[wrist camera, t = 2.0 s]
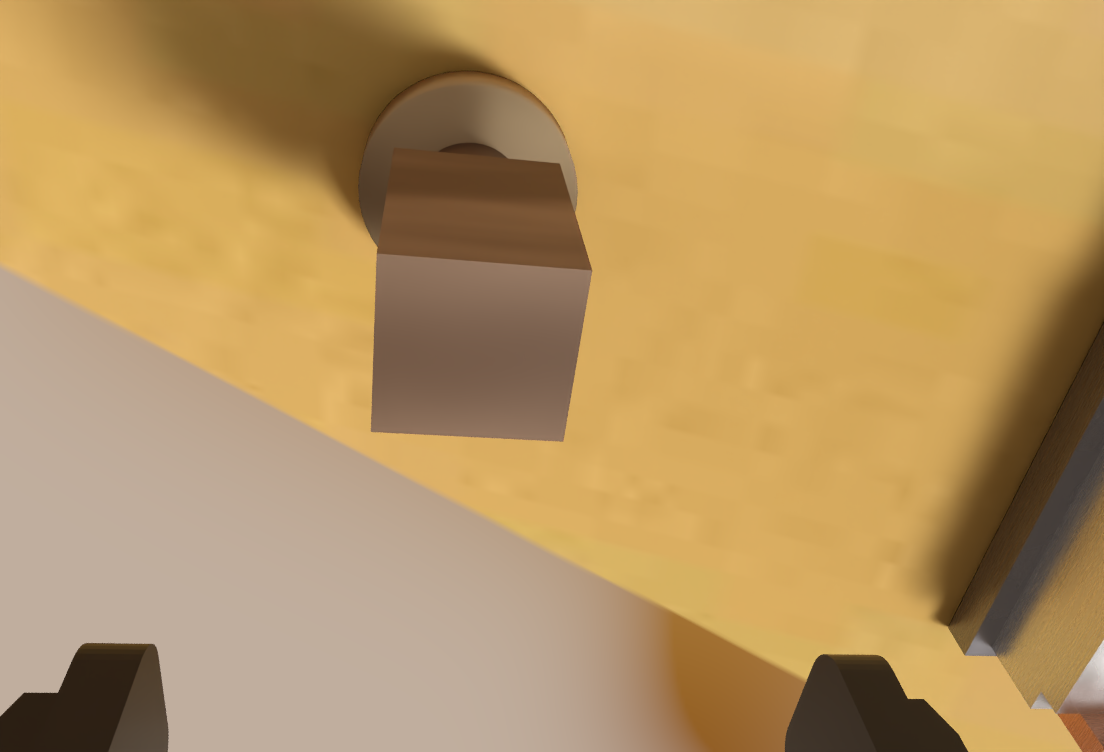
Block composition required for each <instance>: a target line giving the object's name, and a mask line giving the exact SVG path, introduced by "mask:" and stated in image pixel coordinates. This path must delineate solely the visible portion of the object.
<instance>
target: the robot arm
mask: <svg viewBox="0 0 1104 752" xmlns="http://www.w3.org/2000/svg"><path fill="white" fill-rule="evenodd" d="M0 752H168V723H167V716H166V708H165V701H164V694H163V686H162V679H161V672H160V664H159V657H158V652H157V648H156V647H155V645H154V644H114V643H86V644H83V645H82V646H81V647H80V648H79V649H78V651H77V652H76V654H75V656H74V658H73V660H72V662H71V665H70V667H69V669H68V671H67V674H66V676H65V678H64V681H63V683H62V686H61V687H60V690H59V692H58V693H23V694H22V696H21V697H20V698H18V699H17V700H16V701H15V702H14V703H13V704H12V706H10V707H9V708H8V709H7V710H6V711H5V712H4V713H3V714H2V715H1V716H0ZM785 752H968V751H967V749H966V747H965V745H964V744H963V742H962V740H961V738H960V736H959V735H958V733H957V732H956V731H955V730H954V729H953V728H952V727H951V726H950V725H949V724H948V723H947V722H946V721H945V720H944V719H943V718H942V717H941V716H940V715H939V714H938V713H937V712H936V711H935V710H934V709H933V708H932V707H931V706H930V705H929V704H928V703H927V702H926V701H925V700H924V699H908V698H907V697H906V695H905V693H904V691H903V689H902V687H901V685H900V683H899V681H898V679H897V677H896V675H895V673H894V671H893V670H892V668H891V666H890V665H889V663H888V662H887V661H886V660H885V659H884V658H883V657H881V656H879V655H829V654H823V655H820V656H819V657H818V658H817V659H816V660H815V662H814V664H813V667H812V669H811V672H810V674H809V677H808V679H807V682H806V684H805V687H804V689H803V692H802V694H801V697H800V699H799V702H798V704H797V707H796V709H795V712H794V714H793V717H792V719H791V722H790V724H789V727H788V730H787V733H786V741H785Z"/></svg>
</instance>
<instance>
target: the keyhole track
mask: <svg viewBox="0 0 1104 752" xmlns="http://www.w3.org/2000/svg"><path fill="white" fill-rule="evenodd" d="M948 628H949V630H950V632H951V633H952V635H953V637H954V638H955V640H956V642H957V643H958V645H959V647H960V648H961V650H962V652H963V653H964V655H967V656H997V657H998V658H999V660H1000V662H1001V663H1002V665H1003V666H1004V668H1005V669H1006V671H1007V672H1008V674H1009V676H1010V677H1011V679H1012V680H1013V682H1014V683H1015V685H1016V687H1017V688H1018V690H1019V691H1020V693H1021V694H1022V696H1023V698H1024V699H1025V701H1026V702H1027V704H1028V705H1029V707H1030V709H1053V710H1054V711H1055V713H1056V714H1058V715H1059V717H1060V718H1061V720H1062V721H1063V723H1064V725H1065V726H1066V728H1067V729H1068V731H1069V732H1070V734H1071V735H1072V737H1073V738H1074V740H1075V741H1076V743H1077V744H1078V746H1079V747H1080V749H1081V750H1082V752H1104V323H1103V325H1102V327H1101V329H1100V331H1099V333H1098V335H1097V337H1096V339H1095V341H1094V343H1093V345H1092V347H1091V349H1090V351H1089V353H1088V355H1087V357H1086V359H1085V361H1084V363H1083V364H1082V366H1081V368H1080V370H1079V372H1078V374H1077V376H1076V378H1075V380H1074V382H1073V384H1072V386H1071V388H1070V390H1069V392H1068V394H1067V396H1066V398H1065V400H1064V402H1063V404H1062V406H1061V408H1060V410H1059V412H1058V413H1057V415H1056V417H1055V419H1054V421H1053V423H1052V425H1051V427H1050V429H1049V431H1048V433H1047V435H1046V437H1045V439H1044V441H1043V443H1042V445H1041V447H1040V449H1039V451H1038V453H1037V455H1036V457H1035V459H1034V461H1033V462H1032V464H1031V466H1030V468H1029V470H1028V472H1027V474H1026V476H1025V478H1024V480H1023V482H1022V484H1021V486H1020V488H1019V490H1018V492H1017V494H1016V496H1015V498H1014V500H1013V502H1012V504H1011V506H1010V508H1009V510H1008V511H1007V513H1006V515H1005V517H1004V519H1003V521H1002V523H1001V525H1000V527H999V529H998V531H997V533H996V535H995V537H994V539H993V541H992V543H991V545H990V547H989V549H988V551H987V553H986V555H985V557H984V559H983V560H982V562H981V564H980V566H979V568H978V570H977V572H976V574H975V576H974V578H973V580H972V582H971V584H970V586H969V588H968V590H967V592H966V594H965V596H964V598H963V600H962V602H961V604H960V606H959V608H958V609H957V611H956V613H955V615H954V617H953V619H952V621H951V623H950V625H949V627H948Z"/></svg>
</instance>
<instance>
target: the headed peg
mask: <svg viewBox="0 0 1104 752" xmlns="http://www.w3.org/2000/svg"><path fill="white" fill-rule="evenodd" d="M358 189H359V202H360V208H361V213H362V216H363V219H364V222H365V225H366V227H367V229H368V231H369V233H370V236H371V238H372V239H373V241H374V242H375V244H376V245H377V247H378V249H377V263H376V293H375V324H374V355H373V386H372V416H371V432H384V433H404V434H424V435H444V436H463V437H483V438H503V439H523V440H543V441H563V440H564V434H565V428H566V422H567V416H568V410H569V404H570V398H571V393H572V387H573V381H574V375H575V369H576V363H577V357H578V351H579V345H580V339H581V333H582V328H583V322H584V316H585V310H586V304H587V298H588V292H589V286H590V280H591V274H592V268H591V265H590V262H589V258H588V255H587V252H586V248H585V245H584V242H583V239H582V235H581V232H580V229H579V225H578V222H577V219H576V215H575V210H576V205H577V193H578V191H577V177H576V172H575V167H574V163H573V160H572V157H571V154H570V151H569V148H568V145H567V142H566V140H565V137H564V134H563V132H562V130H561V128H560V126H559V124H558V122H557V121H556V119H555V118H554V116H553V115H552V113H551V112H550V111H549V110H548V109H547V107H546V106H545V105H544V104H543V103H542V102H541V101H540V100H539V99H538V98H537V97H535V96H534V95H533V94H532V93H531V92H529V91H528V90H526V89H525V88H523V87H522V86H520V85H518V84H516V83H514V82H512V81H510V80H508V79H506V78H503V77H500V76H496V75H493V74H489V73H483V72H478V71H456V72H447V73H443V74H438V75H434V76H431V77H429V78H426V79H424V80H421V81H419V82H417V83H415V84H414V85H412V86H410V87H408V88H407V89H405V90H404V91H403V92H401V93H400V94H399V95H397V96H396V97H395V98H394V99H393V100H392V101H391V102H390V103H389V104H388V105H387V106H386V108H385V109H384V110H383V112H382V113H381V114H380V115H379V117H378V119H377V120H376V122H375V124H374V126H373V128H372V130H371V132H370V135H369V137H368V140H367V144H366V148H365V152H364V156H363V160H362V164H361V169H360V174H359V185H358Z"/></svg>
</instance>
